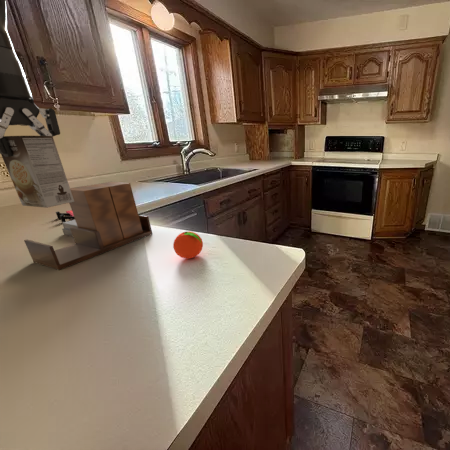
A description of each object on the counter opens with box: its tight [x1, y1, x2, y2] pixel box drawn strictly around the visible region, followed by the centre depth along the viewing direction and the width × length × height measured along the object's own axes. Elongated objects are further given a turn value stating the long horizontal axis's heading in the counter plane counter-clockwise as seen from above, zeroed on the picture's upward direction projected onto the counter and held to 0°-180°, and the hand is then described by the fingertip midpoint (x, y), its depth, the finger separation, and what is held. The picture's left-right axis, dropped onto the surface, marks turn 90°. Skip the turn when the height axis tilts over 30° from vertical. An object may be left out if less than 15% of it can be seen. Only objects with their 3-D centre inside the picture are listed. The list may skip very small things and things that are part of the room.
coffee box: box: [0, 135, 74, 208], centre depth 58 cm, size 9×6×16 cm
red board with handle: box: [55, 209, 75, 223], centre depth 100 cm, size 30×3×15 cm
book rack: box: [23, 181, 153, 271], centre depth 69 cm, size 25×12×17 cm, turn 157°
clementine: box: [172, 230, 204, 259], centre depth 62 cm, size 8×7×7 cm
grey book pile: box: [61, 219, 78, 237], centre depth 83 cm, size 8×11×4 cm
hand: (30, 155), depth 57 cm, fingers closed on coffee box, 6 cm apart
